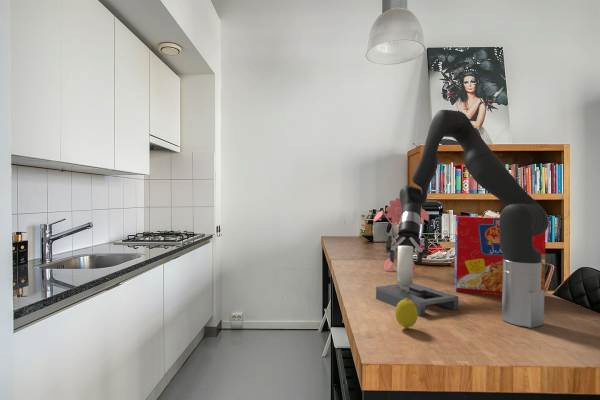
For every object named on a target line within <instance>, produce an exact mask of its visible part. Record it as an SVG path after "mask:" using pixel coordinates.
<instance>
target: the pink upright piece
mask: <svg viewBox="0 0 600 400" xmlns="http://www.w3.org/2000/svg"><path fill="white" fill-rule="evenodd" d="M385 211H386V212H387V214H386V213H385V212H384V210H381V211H379V212H377V213H376V214H375V216H374V218H373V223H375V222H376V221H378V220H379V219H381V218H382V216H383V215H384V216H385V218H386V219H387V221H388V223H390V224H391V225H396V224H399V223H400V218H401V214H402V206H401V202H400V197H399V198H398V197H395V199H391V200H389V206H387V207H386V208H385ZM420 218H422V219H423V220H425V221H427V222H429V219H430V214H429V213H428V211H426V210H425V208H421V216H420ZM390 219H391V220H390ZM398 230H399V225H398V226H397V231H398ZM395 243H396V241H395V242H394V243H393V244H391V246H392V245H395ZM393 265H394V263H392V262H391V261H390V257H389V258H387V259H386V260H385V262H384V266H383V267H384V270H385V272H386V271H388V270H391V269H392V270H393ZM378 268H381V266H379V267H378ZM415 271H416V264H415V262H414V261H413V274H414V273H415ZM386 275H389V274H388V273H386ZM392 275H393V274H392ZM414 276H415V275H413V278H415V277H414ZM392 277H395V275H393V276H392Z"/></svg>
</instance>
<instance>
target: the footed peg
mask: <svg viewBox="0 0 600 400" xmlns="http://www.w3.org/2000/svg"><path fill="white" fill-rule="evenodd" d="M413 262H414V250H413V247H412V246H398V251H397V268H396V269H397V273H396V274H397V275H396V277H397V278H396V279H397V281H396V284H400V289H402V290H405V291H408V292H409V285H412V284H413V283H414V282H413V281H414V280H413V278H414V277H413V276H414V273H413ZM411 295H412V294H411Z"/></svg>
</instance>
